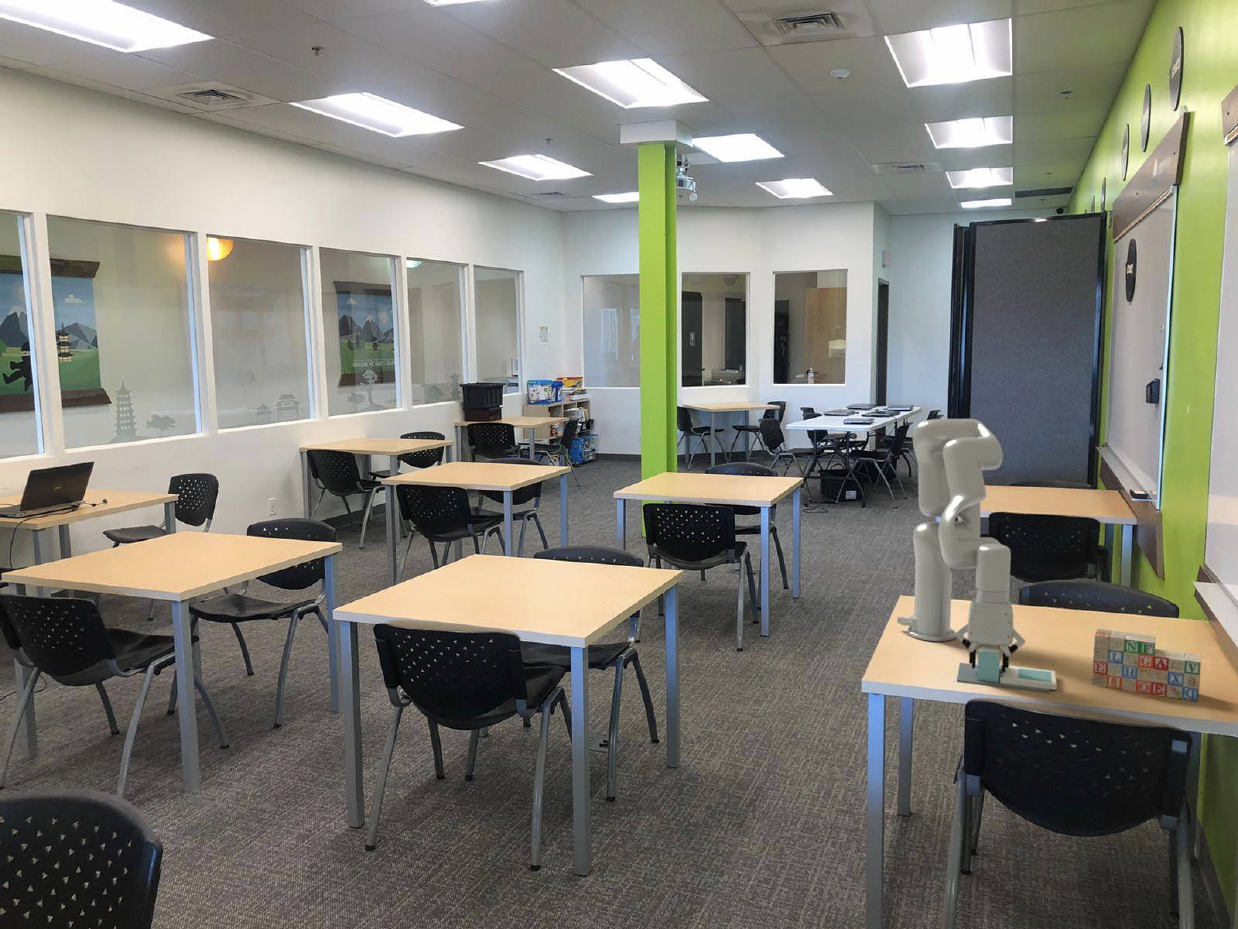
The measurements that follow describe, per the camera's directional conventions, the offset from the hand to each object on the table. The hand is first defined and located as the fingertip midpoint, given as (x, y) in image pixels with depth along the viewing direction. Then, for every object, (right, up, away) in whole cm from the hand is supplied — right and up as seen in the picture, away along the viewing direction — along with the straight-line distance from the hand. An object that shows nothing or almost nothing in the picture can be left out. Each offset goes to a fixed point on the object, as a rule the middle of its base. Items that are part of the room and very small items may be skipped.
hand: (988, 667), depth 224 cm
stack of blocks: (+33, -3, -8) cm, 34 cm away
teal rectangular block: (0, -2, 0) cm, 2 cm away
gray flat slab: (+4, -2, -1) cm, 4 cm away
